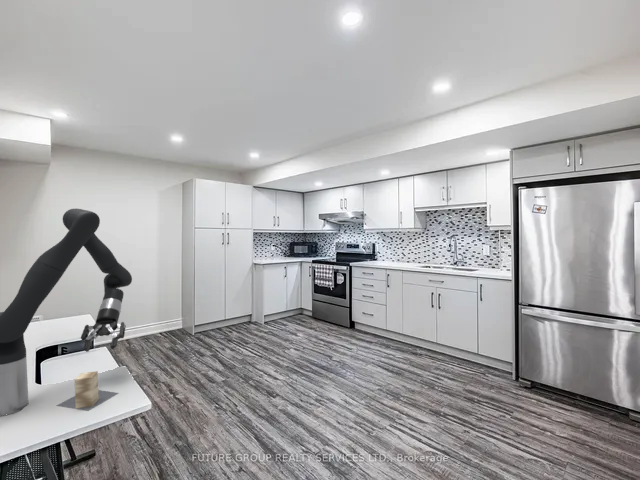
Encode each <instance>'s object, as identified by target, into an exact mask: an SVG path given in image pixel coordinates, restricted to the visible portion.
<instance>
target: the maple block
mask: <svg viewBox="0 0 640 480" xmlns="http://www.w3.org/2000/svg"><path fill="white" fill-rule="evenodd" d="M98 390H99V374H98V371H97V370H96V371H89V372H81V373H80V374H79V375H78V376H76V378H74V396H75V402H76V409H75V410H78V409H77V408H84V407H92V406H93V405H94V404H95V403H96V402H97V400H98V399H99V395H98Z"/></svg>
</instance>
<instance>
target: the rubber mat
mask: <svg viewBox="0 0 640 480" xmlns="http://www.w3.org/2000/svg"><path fill="white" fill-rule="evenodd" d="M118 394H119V392H115V391H106V390H103V389H100V390H99V389H98V395H99V399H98V400H97V402H96V403H95V404H94V405H93V406H92V407H84V408H77V409H76V402H75V395H74V396H71V397H70V398H68V399H66V400H64V401H62V402H61V403H58V404H57V405H56V406H57V407H62V408H68V409H74V410H80V411H86V412H89V411H91V410H93V409H95V408H96V407H98V406H99V405H102V404H103V403H104V402H106V401H108V400H110V399H112V398H114V397H115V396H116V395H118Z"/></svg>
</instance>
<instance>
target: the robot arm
mask: <svg viewBox="0 0 640 480" xmlns="http://www.w3.org/2000/svg"><path fill="white" fill-rule="evenodd" d="M62 223H63V225H64V227H65V228H66V229H67V230H68V231H67V232H66V234H65V236H63V238H62V239H61V240H60V241H59V242H58V243H56V244H55V245H53V246H52V247H50V248H49V249H48V250H46V251H45V252H43V253H42V254H40V256H38V258H37V259H36V260H35V261H34V263H33V264H32V266H31V267H30V268H29V270H27V272H26V274H25V276H24V278H23V281H22V282H21V285H20V287H19V289H18V291H17V294H16V296H15V297H14V299H13V300H12V301H11V302H10V304H9V305H8V306H7V308H5V310H4V311H2V312H0V415H5V416H7V415H6V414H9V415H13V414H15V413H18V412H20V411H22V410H23V409H24V408H26V407H27V406H28V405H29V403H30V402H29V386H28V385H29V379H28V363H27V362H28V361H27V360H28V359H27V348H26V344H25V336H24V334H25V333H26V331H27V330H28V327H29V325H30V323H31V321H32V319H33V318H34V316H35V314H36V312H37V311H38V309H39V308H40V306H41V304H42V303H43V302H44V301H45V299H47V297H48V295H50V293H51V292H52V290H53V289H54V287H55V286H56V285H57V284H58V282H59V281H60V279H61V278H62V277H63V275H64V274H65V272H66V271H67V270H68V268H69V266H70V265H71V264H72V262H73V260H74V259H75V258H76V256H77V255H78V254H79V252H80V250H81V249H82V248H83V247H84V249H85V250H86V251H87V252H88V254H89V255H90V257H91V258H92V259H93V261H94V262H95V264H96V265H97V267H98V268H99V271H101V272H102V273H103V274H106V275H105V276H104V278H103V287H104V289H103V290H104V291H103V292H104V295H103V298H102V302H101V304H100V306H99V308H98V312H97V316H96V319H95V324H94V325H89V324H86V325H84V329H83V330H82V332H81V336H80V340H81V341H82V342H83V343H84V345H83V350H84V351H85V352H86V353H87V352H89V351H90V348H91V344H92V341H94V340H95V339H97V338H99V337H104V336H107V337H108V336H110V335H111V337H112V340H111V344H110V349H111V350H114V349H115V348H116V347H118V346H117V345H118V340H120V339H124V338H125V333H126V323H125V322H124V321H121V322H120V323H119V320H120V319H119V318H120V314H121V312H122V310H121V309H122V303H123V299H124V294H125V293H124V291H123V290H122V289H120V288H123V287H128V286H130V284H131V285H132V282H133V278H132V275H131V273H130V272H129V270H128V269H126V268H125V267H124V266H123V265H122V264H120V263H119V261H118V260H117V258H116V257H115V255H114V253H113V252H112V251H111V249H110V248H109V247H108V246H107V245H106V244H105V243H104V242H103V241H102V240H101V239H99V237H98V236H97V235H96V234H95V233H96V231H97V230H98V228H99V227H100V224H101V220H100V217H99V215H98V214H97V213H96V212H94V211H90V210H85V209H82V208H70V209H68V210H66V211H65V212H64V214H63V215H62ZM117 329H119V332H118V334H117V333H116V332H115V330H117ZM12 413H13V414H12Z"/></svg>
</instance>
